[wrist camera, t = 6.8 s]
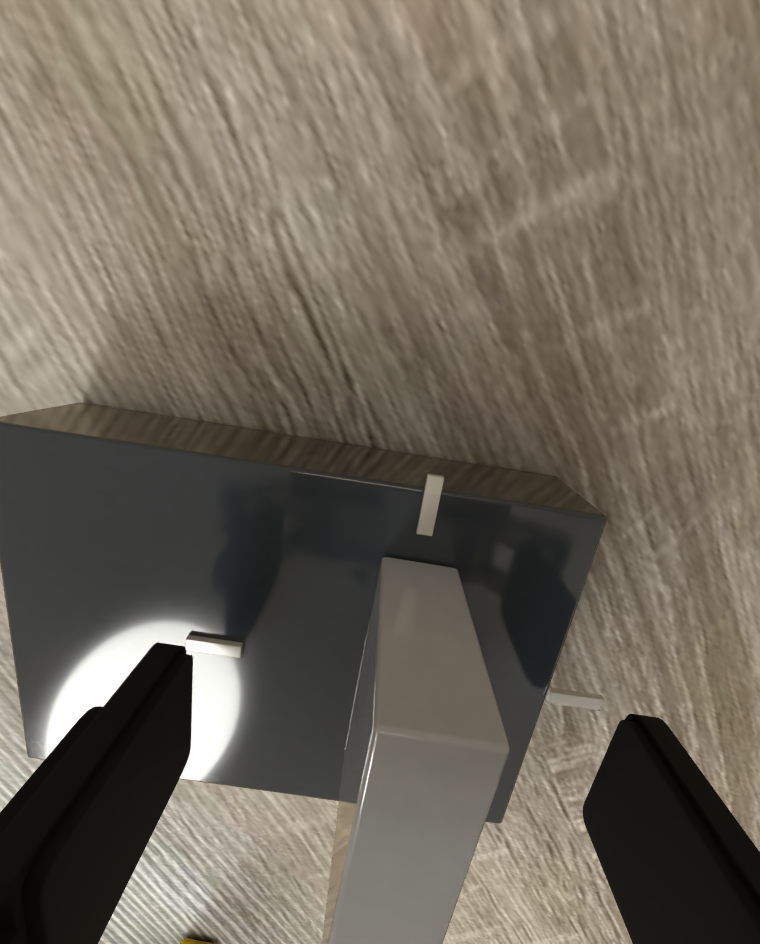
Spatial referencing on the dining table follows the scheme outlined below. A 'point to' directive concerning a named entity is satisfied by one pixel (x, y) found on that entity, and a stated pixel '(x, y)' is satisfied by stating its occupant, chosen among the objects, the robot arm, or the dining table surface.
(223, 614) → the tap plate
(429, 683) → the tap handle
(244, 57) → the dining table surface
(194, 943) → the candy box
